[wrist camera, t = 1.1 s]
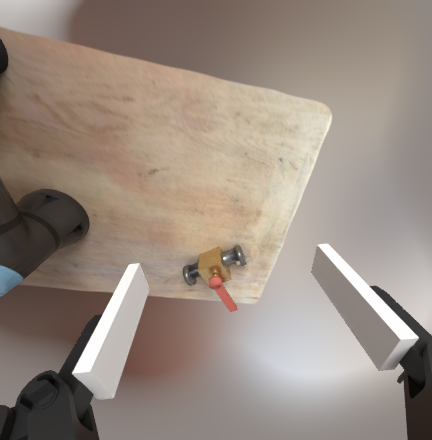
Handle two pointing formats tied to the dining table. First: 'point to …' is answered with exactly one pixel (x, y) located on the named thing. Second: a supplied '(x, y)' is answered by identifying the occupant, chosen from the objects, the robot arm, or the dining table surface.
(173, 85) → the dining table surface
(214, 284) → the lever
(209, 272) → the valve
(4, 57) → the wine bottle
